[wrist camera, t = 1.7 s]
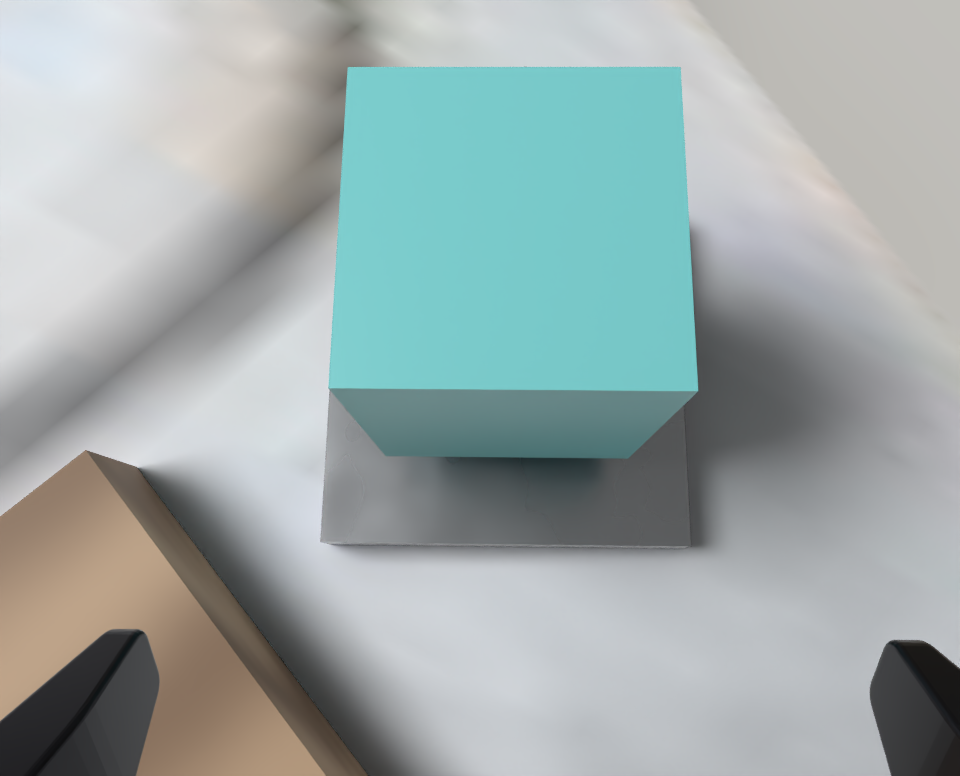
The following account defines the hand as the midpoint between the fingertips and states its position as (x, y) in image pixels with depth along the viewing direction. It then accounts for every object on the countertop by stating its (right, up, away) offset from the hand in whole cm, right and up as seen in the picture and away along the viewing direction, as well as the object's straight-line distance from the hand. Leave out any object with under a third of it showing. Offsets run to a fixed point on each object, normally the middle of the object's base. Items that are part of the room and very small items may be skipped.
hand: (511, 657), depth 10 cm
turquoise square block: (0, +4, +11) cm, 12 cm away
